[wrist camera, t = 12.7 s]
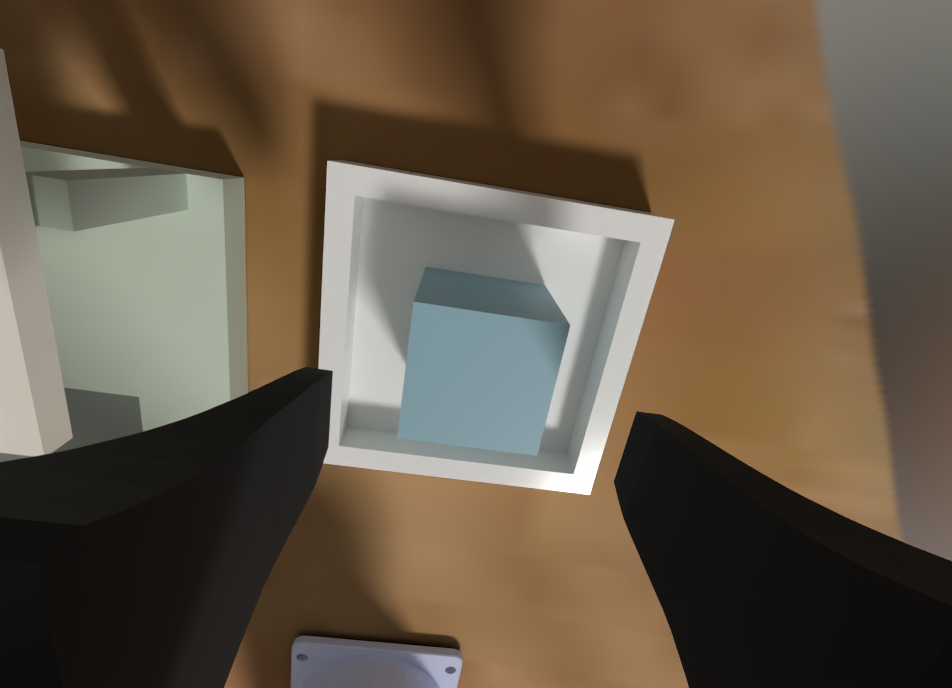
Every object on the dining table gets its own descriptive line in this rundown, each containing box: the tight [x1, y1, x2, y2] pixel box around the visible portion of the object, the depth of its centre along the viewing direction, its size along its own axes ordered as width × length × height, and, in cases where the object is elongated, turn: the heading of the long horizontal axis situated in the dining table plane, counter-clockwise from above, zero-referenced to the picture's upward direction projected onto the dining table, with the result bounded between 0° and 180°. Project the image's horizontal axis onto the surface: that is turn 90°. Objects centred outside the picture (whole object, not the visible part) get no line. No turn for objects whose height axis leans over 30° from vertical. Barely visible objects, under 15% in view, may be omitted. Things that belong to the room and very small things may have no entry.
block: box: [397, 267, 570, 456], centre depth 14 cm, size 4×4×4 cm
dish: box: [318, 160, 675, 495], centre depth 16 cm, size 10×10×2 cm
